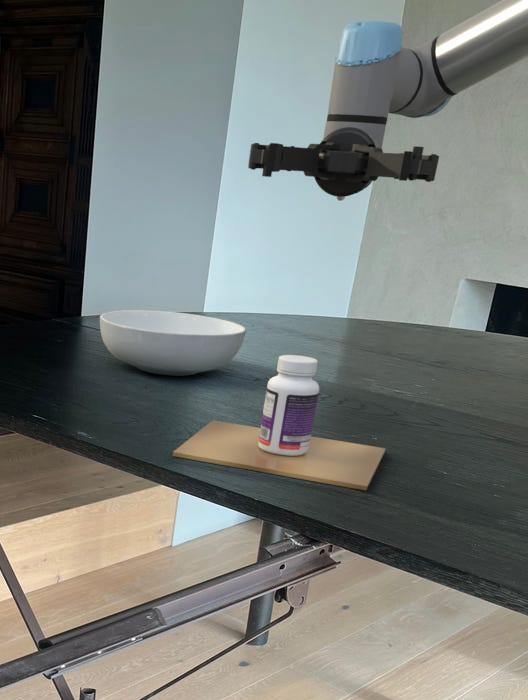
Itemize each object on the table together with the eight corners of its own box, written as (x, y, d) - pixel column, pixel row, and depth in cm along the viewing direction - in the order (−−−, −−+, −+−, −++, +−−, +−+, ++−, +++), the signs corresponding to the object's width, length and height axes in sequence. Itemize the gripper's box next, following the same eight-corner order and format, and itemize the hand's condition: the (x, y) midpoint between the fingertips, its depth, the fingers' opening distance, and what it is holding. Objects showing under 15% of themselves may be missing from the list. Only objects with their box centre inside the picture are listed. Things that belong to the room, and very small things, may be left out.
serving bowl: (267, 384, 140) (275, 334, 136) (134, 387, 132) (139, 335, 129) (194, 354, 157) (200, 308, 153) (73, 355, 149) (76, 308, 146)
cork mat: (385, 452, 111) (386, 448, 111) (366, 491, 98) (367, 486, 97) (211, 424, 117) (212, 419, 117) (172, 456, 104) (173, 451, 104)
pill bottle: (314, 449, 108) (331, 359, 104) (298, 460, 104) (315, 366, 100) (267, 439, 111) (282, 350, 106) (249, 449, 106) (264, 357, 102)
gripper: (445, 203, 120) (455, 210, 101) (239, 188, 126) (213, 192, 108) (460, 134, 116) (473, 128, 98) (248, 122, 122) (223, 114, 104)
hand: (337, 161), depth 103 cm, fingers open, 13 cm apart
